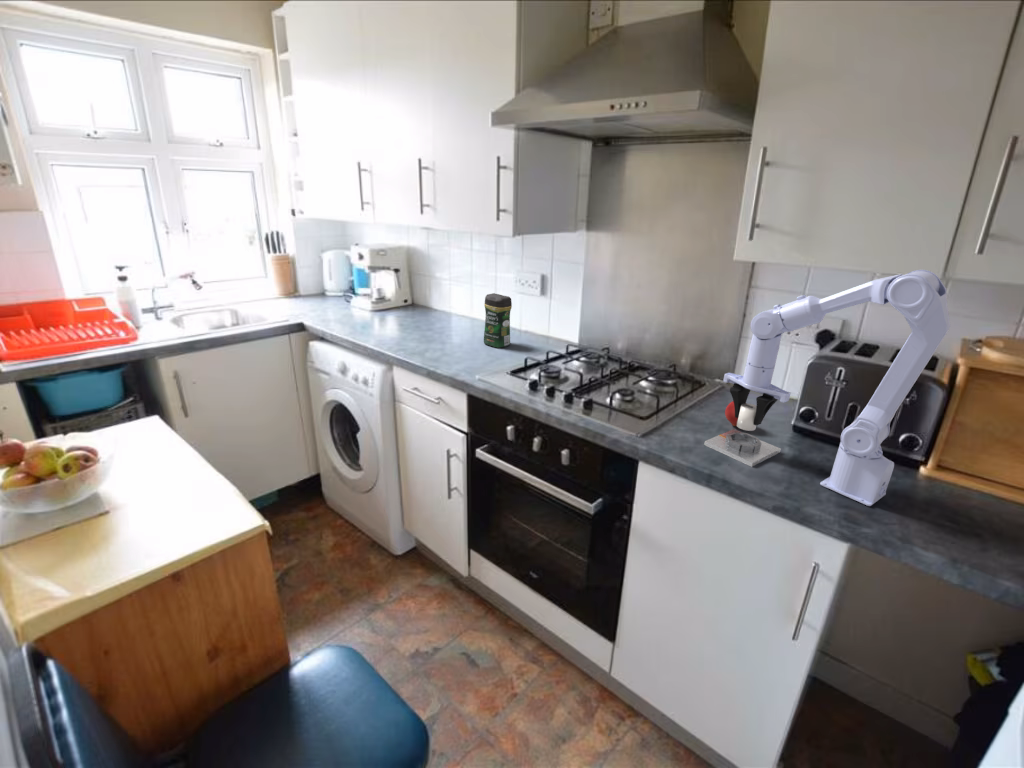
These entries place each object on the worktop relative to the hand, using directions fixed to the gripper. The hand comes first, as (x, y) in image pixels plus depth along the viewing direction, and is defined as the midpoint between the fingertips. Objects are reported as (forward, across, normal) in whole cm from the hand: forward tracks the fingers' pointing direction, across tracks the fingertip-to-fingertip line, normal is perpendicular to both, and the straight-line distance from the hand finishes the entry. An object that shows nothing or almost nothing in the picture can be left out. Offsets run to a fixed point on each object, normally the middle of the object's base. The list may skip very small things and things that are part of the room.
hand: (747, 420), depth 119 cm
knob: (+2, 0, 0) cm, 2 cm away
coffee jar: (+8, +96, +3) cm, 96 cm away
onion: (+8, +8, -10) cm, 15 cm away
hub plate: (+7, 0, 0) cm, 7 cm away
